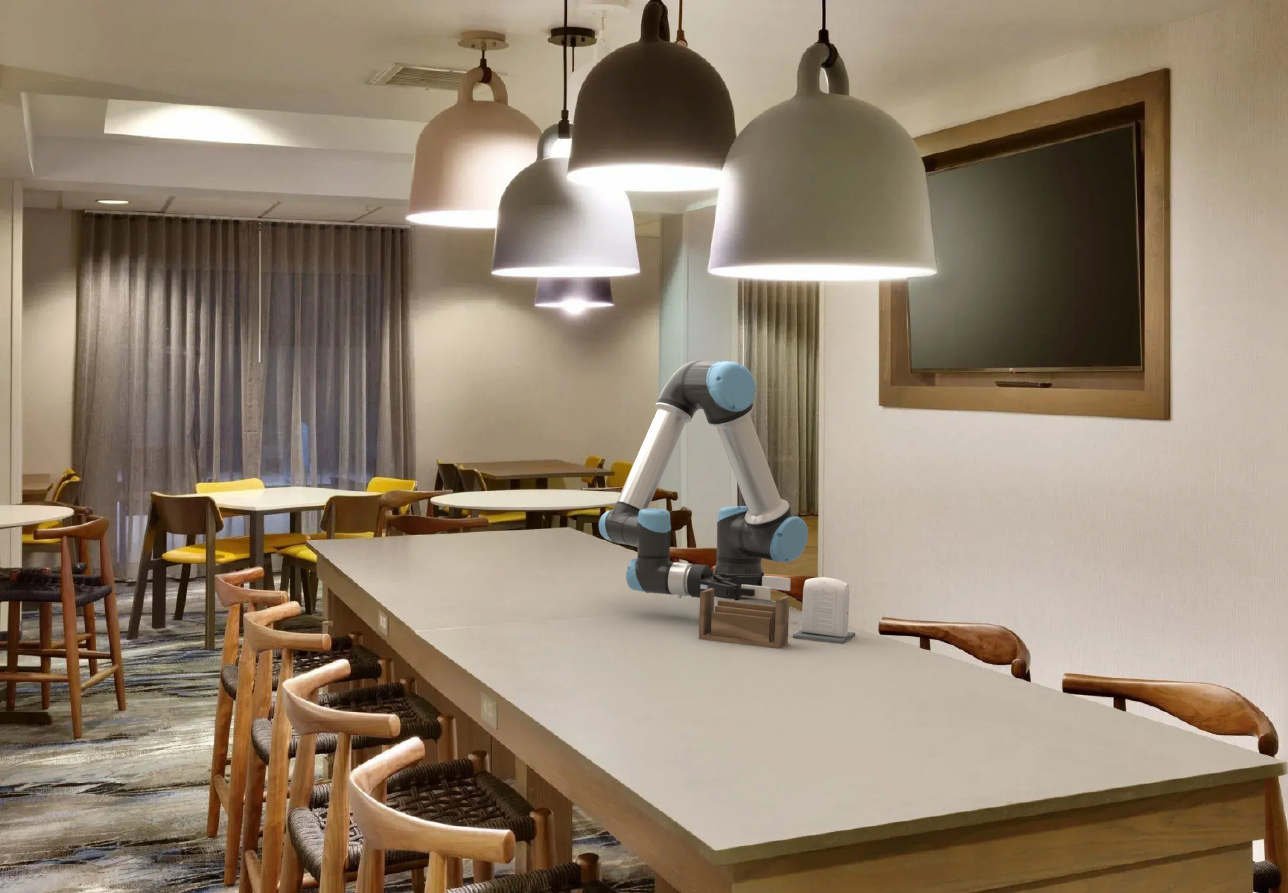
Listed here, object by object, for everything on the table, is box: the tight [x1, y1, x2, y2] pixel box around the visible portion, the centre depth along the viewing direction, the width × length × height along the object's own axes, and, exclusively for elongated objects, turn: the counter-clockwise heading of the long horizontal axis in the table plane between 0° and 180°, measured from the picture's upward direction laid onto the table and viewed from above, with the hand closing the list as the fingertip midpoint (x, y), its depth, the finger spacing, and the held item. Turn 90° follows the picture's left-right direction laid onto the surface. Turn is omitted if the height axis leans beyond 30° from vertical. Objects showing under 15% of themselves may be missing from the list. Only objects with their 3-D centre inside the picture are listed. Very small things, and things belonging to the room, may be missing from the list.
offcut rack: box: [698, 588, 790, 649], centre depth 254 cm, size 6×18×10 cm, turn 64°
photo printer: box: [800, 576, 850, 637], centre depth 260 cm, size 10×4×12 cm, turn 64°
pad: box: [792, 630, 856, 644], centre depth 261 cm, size 10×11×1 cm
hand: (780, 589), depth 265 cm, fingers open, 13 cm apart
